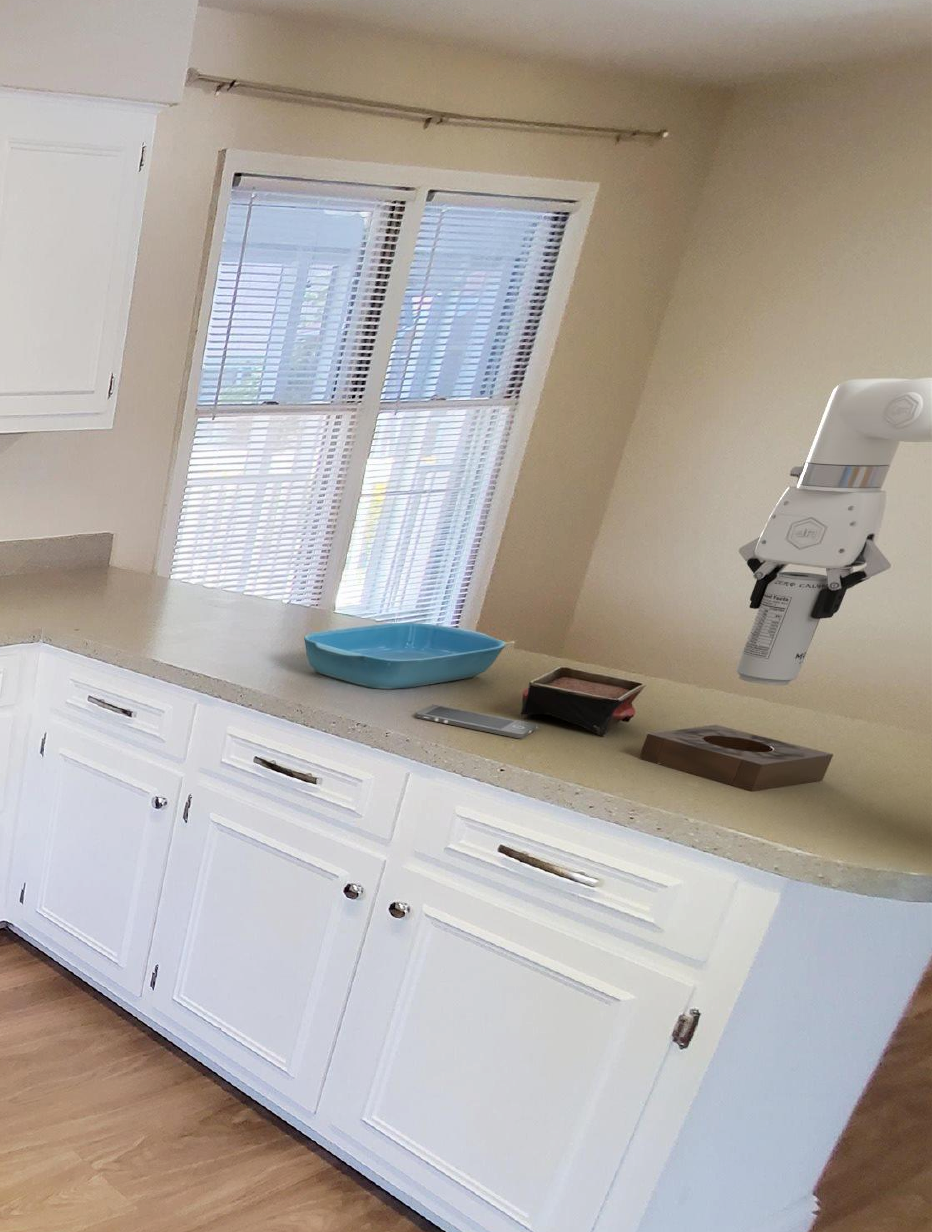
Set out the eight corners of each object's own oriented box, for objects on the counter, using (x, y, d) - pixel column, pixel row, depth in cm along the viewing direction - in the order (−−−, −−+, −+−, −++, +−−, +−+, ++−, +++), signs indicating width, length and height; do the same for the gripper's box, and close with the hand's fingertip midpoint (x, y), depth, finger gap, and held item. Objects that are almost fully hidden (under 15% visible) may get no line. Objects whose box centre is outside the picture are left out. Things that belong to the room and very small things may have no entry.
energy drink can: (801, 688, 141) (844, 580, 135) (741, 683, 143) (781, 577, 138) (784, 678, 145) (825, 573, 140) (726, 673, 148) (765, 570, 143)
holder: (822, 780, 145) (833, 754, 144) (751, 791, 142) (762, 764, 140) (706, 749, 158) (715, 724, 156) (638, 758, 155) (647, 733, 153)
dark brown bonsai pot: (644, 736, 169) (661, 676, 167) (605, 740, 160) (623, 677, 158) (537, 720, 181) (552, 664, 179) (495, 723, 172) (510, 664, 170)
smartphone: (412, 716, 175) (413, 712, 174) (431, 707, 179) (432, 703, 179) (520, 738, 163) (522, 734, 163) (537, 728, 168) (539, 724, 167)
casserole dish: (377, 699, 185) (386, 660, 182) (273, 669, 205) (280, 634, 202) (522, 678, 195) (532, 641, 192) (409, 651, 215) (417, 618, 212)
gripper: (741, 474, 141) (696, 602, 148) (911, 485, 126) (852, 628, 132) (780, 472, 143) (733, 599, 150) (952, 482, 127) (892, 624, 134)
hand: (790, 611), depth 141 cm, fingers closed on energy drink can, 6 cm apart
